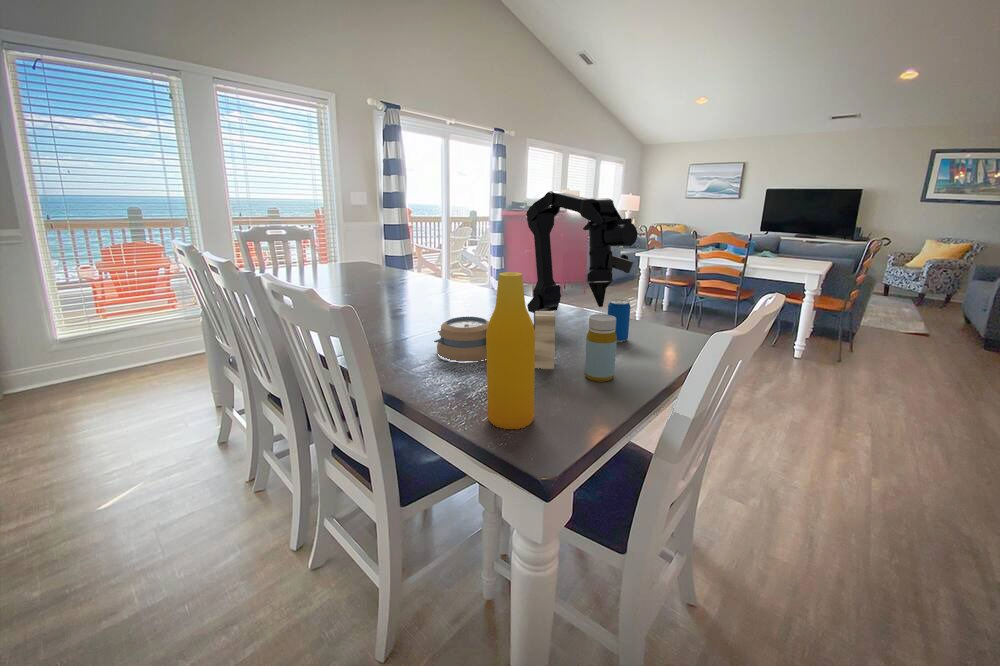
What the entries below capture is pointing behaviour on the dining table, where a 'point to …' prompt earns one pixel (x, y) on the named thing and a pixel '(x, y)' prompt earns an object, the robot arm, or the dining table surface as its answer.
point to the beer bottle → (510, 356)
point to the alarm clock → (463, 339)
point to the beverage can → (620, 317)
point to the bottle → (601, 348)
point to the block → (544, 339)
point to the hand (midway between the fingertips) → (601, 304)
